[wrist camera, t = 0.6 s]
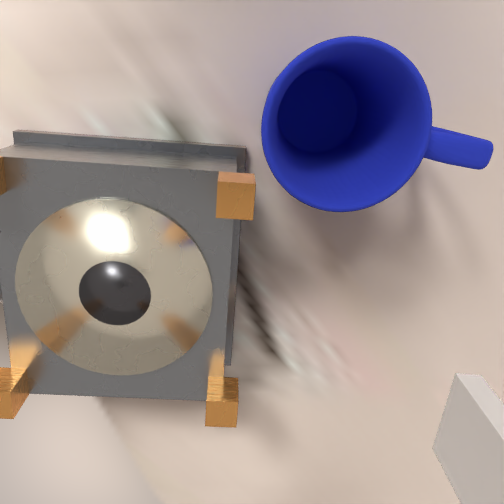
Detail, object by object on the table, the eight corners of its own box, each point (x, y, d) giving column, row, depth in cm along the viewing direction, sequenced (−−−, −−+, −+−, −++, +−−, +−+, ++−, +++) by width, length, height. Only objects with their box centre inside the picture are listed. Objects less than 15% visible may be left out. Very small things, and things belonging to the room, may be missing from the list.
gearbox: (-20, 127, 32) (-104, 147, 24) (251, 146, 33) (256, 172, 25) (8, 349, 38) (-51, 424, 30) (235, 359, 39) (235, 434, 31)
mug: (409, 191, 34) (473, 238, 25) (243, 160, 33) (247, 197, 24) (447, 71, 31) (536, 73, 22) (267, 32, 30) (281, 18, 21)
